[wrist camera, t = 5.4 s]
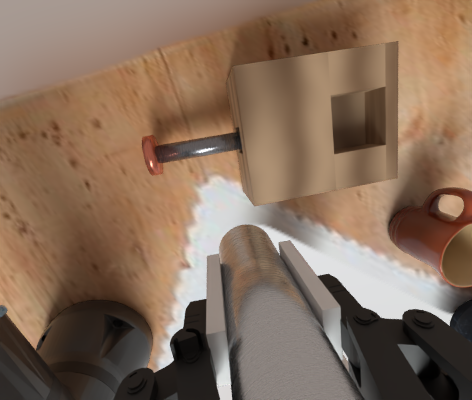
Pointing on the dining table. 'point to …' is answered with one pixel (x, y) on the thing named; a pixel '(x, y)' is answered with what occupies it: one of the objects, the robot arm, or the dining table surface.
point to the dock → (316, 122)
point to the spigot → (274, 328)
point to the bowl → (463, 320)
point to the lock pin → (186, 149)
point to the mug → (438, 236)
